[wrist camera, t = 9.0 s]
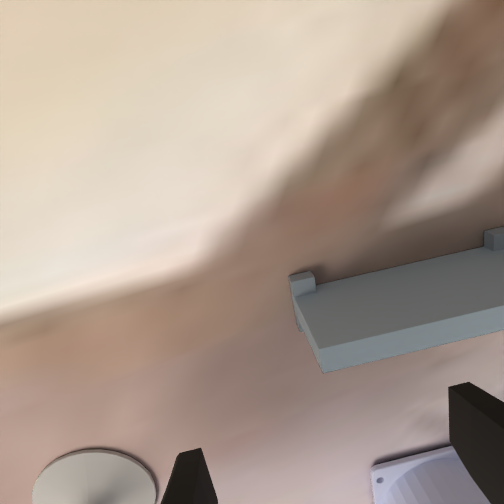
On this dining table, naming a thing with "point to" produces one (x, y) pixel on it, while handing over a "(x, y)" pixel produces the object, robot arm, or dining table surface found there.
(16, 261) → the dining table surface
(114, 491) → the wineglass
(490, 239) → the grey block with tabs
